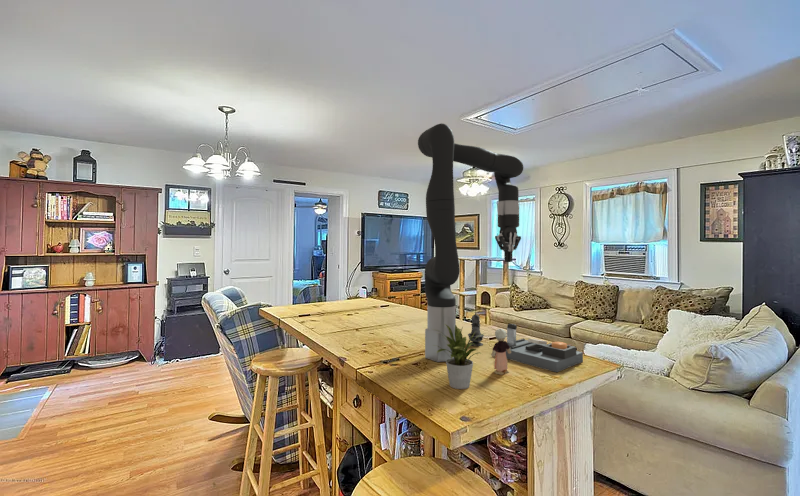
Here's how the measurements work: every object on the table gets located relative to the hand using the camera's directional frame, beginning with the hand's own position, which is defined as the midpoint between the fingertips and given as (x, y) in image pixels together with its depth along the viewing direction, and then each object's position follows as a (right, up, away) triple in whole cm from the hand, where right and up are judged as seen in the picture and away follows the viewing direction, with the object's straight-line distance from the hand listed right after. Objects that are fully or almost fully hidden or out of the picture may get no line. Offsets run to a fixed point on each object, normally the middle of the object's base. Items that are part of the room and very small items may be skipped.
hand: (508, 261), depth 135 cm
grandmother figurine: (-10, -31, -27) cm, 43 cm away
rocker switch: (+6, -26, -13) cm, 30 cm away
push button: (+10, -28, -19) cm, 35 cm away
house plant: (-25, -31, -36) cm, 54 cm away
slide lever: (-2, -28, -10) cm, 29 cm away
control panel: (+6, -31, -13) cm, 34 cm away
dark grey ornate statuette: (-11, -31, +4) cm, 33 cm away
